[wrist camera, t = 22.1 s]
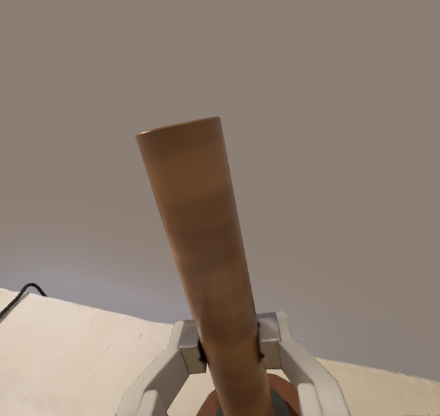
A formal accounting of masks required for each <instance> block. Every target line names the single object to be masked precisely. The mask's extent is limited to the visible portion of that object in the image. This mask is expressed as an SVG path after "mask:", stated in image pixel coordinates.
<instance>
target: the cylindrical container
mask: <svg viewBox="0 0 440 416" xmlns="http://www.w3.org/2000/svg"><path fill="white" fill-rule="evenodd" d="M267 377H268V383H269V386H270V387H271V388H273V389H274V390H275V391H276V392H277V393H278V394H279V395H280V396H281V397H282V398H283V400H284V401H285V403H286V405H287V406H288V408H289V411H290V413H291V416H300V406H299V397H298V391H297V390H296V388H295V387H294V386H293V384H292V383H290V382H288V381H286V380H285V379H283V378H281V377H279V376H277V375H275V374H268V373H267ZM219 403H220V402H219V398H218V395H217V392H216V389H215V390H214V391H213V392H211V393H210V394H209V396H208V397H207V399H206V400H205V402H204V404H203V405H202V407H201V408H200V410H199V411H198V413H197V415H196V416H215V413H216V410H217V407H218V405H219Z"/></svg>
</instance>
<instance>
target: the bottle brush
mask: <svg viewBox="0 0 440 416" xmlns="http://www.w3.org/2000/svg"><path fill="white" fill-rule="evenodd" d="M135 137H136V140H137V143H138V146H139V149H140V152H141V155H142V158H143V162H144V165H145V168H146V171H147V174H148V178H149V181H150V184H151V187H152V190H153V193H154V196H155V199H156V203H157V206H158V209H159V212H160V215H161V218H162V222H163V225H164V228H165V231H166V234H167V238H168V241H169V244H170V247H171V250H172V253H173V256H174V259H175V263H176V266H177V269H178V272H179V275H180V279H181V282H182V285H183V288H184V291H185V294H186V297H187V301H188V304H189V307H190V310H191V313H192V316H193V320H194V323H195V326H196V329H197V332H198V335H199V339H200V342H201V345H202V348H203V351H204V354H205V357H206V361H207V364H208V367H209V370H210V373H211V376H212V380H213V383H214V386H215V389H216V392H217V395H218V398H219V402H220V403H219V405H218V407H217V410H216V413H215V416H291V413H290V411H289V408H288V406H287V405H286V403H285V401H284V400H283V398H282V397H281V396H280V395H279V394H278V393H277V392H276V391H275V390H274V389H273V388H271V387H270V386H269V383H268V377H267V372H266V370H264V367H263V362H262V355H261V352H260V346H259V339H258V322H257V317H256V312H255V306H254V301H253V295H252V290H251V284H250V279H249V273H248V268H247V262H246V257H245V251H244V247H243V241H242V236H241V230H240V224H239V218H238V213H237V208H236V202H235V196H234V191H233V186H232V180H231V175H230V169H229V164H228V158H227V153H226V148H225V142H224V136H223V132H222V126H221V120H220V118H219V117H210V118H205V119H199V120H194V121H189V122H184V123H179V124H174V125H169V126H165V127H160V128H155V129H151V130H147V131H143V132H139V133H137V134H136V135H135Z"/></svg>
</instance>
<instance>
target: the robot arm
mask: <svg viewBox="0 0 440 416" xmlns="http://www.w3.org/2000/svg"><path fill="white" fill-rule="evenodd" d="M29 286H33V287H35V288H36V289H37V290H38V291H39V292H40V294H41V295H42V296H43V297H47V295H46V294H45V293H44V292H43V290H42V289H41V288H40V287H39V286H38V285H37V284H35V283H29V284H27V285H25V286H24V287H23V288H22V290H21V291H20V293H19V294H18V296H17V297H16V298H15V299H14V300H13V301H12V302H11V303H10V304H9V305H8V306H7V307H6V308H5V309H4V310H3V311H2V312H1V313H0V318H1V317H2V316H3V315H4V314H5V313H6V312H7V311H8V310H9V309H10V308H11V307H12V306H13V305H14V304H15V303H16V302H17V301H18V300H19V298H20V297H21V296H22V295H23V293H24V291H25V290H26V289H27V287H29ZM256 317H257V322H258V339H259V346H260V352H261V355H262V362H263V367H264V370H266V369H282V371H283V372H284V373H285V375H286V376H287V377H288V379H289V380H290V382H291V383H292V384H293V386H294V387H295V388H296V390H297V391H298V397H299V406H300V416H351V414H350V411H349V408H348V406H347V403H346V401H345V398H344V395H343V393H342V390H341V388H340V385H339V383H338V381H337V380H336V379H335V378H334V377H333V376H332V375H331V374H330V373H329V372H328V371H327V370H326V369H325V368H324V367H323V366H322V365H321V364H320V363H319V362H318V361H317V360H316V359H315V358H314V357H313V356H312V355H311V354H310V353H309V352H308V351H307V350H306V349H305V348H304V347H303V346H302V345H301V344H300V343H299V342H298V341H296V340H295V341H294V340H293V337H292V333H291V329H290V325H289V321H288V317H287V313H286V312H285V311H282V312H276V313H275V312H271V313H261V314H256ZM206 367H207V361H206V357H205V354H204V351H203V348H202V345H201V342H200V339H199V335H198V332H197V329H196V326H195V323H194V320H183V321H176V322H175V324H174V327H173V330H172V333H171V337H170V340H169V343H168V346H167V349H166V350H163V351H162V352H161V353H160V354H159V356H158V357H157V358H156V359H155V360H154V361H153V362H152V363H151V364H150V365H149V366H148V367H147V368H146V369H145V371H144V372H143V373H142V374H141V375H140V376H139V377H138V378H137V379H136V380H135V381H134V382H133V383H132V384H131V386H130V387H129V388H128V389H127V390H126V391H125V394H124V396H123V399H122V401H121V404H120V406H119V408H118V411H117V413H116V416H168V414H167V412H166V411H167V410H168V408H169V407H170V405H171V403H172V402H173V400H174V399H175V397H176V396H177V394H178V392H179V391H180V389H181V388H182V386H183V385H184V383H185V381H186V380H187V378H188V377H189V374H198V373H206ZM407 416H440V415H407Z"/></svg>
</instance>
